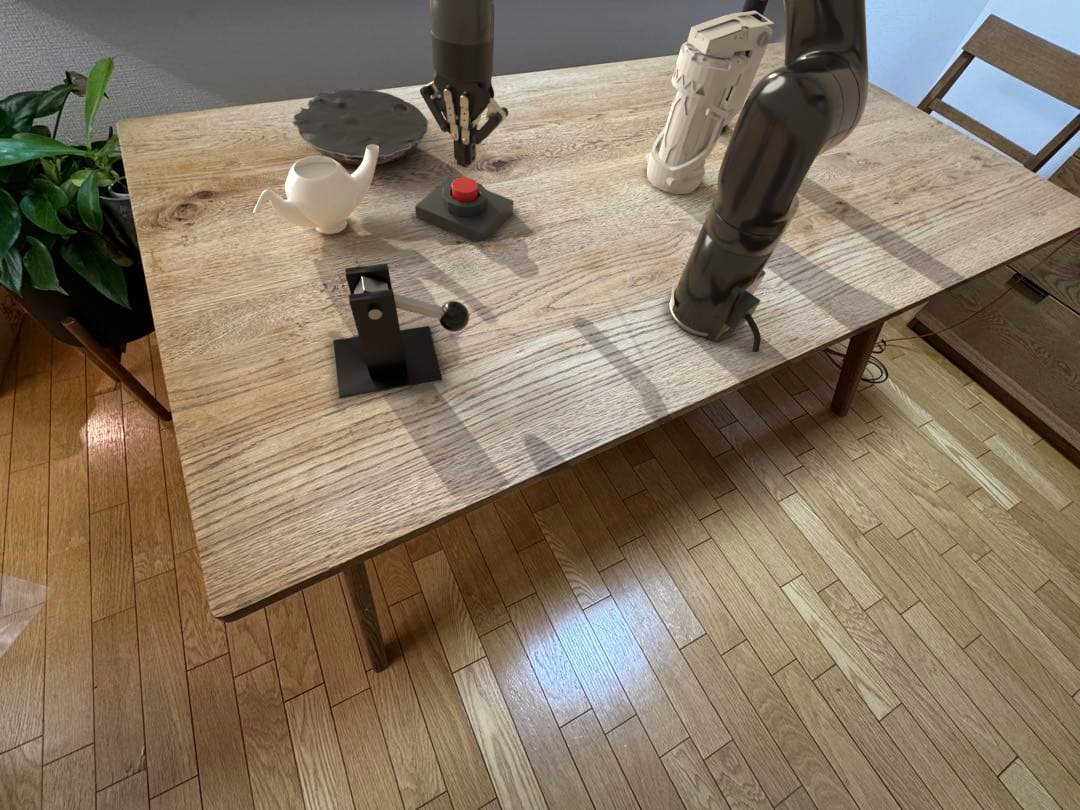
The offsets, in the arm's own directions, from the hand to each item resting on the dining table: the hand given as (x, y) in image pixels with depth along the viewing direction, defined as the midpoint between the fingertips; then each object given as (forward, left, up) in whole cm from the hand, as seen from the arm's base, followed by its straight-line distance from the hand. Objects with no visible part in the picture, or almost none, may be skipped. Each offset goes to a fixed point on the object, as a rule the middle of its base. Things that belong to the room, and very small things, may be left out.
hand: (464, 164), depth 76 cm
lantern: (-14, -39, -9) cm, 42 cm away
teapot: (+10, +18, -9) cm, 22 cm away
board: (+25, +2, -9) cm, 26 cm away
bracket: (-18, +27, -9) cm, 34 cm away
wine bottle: (-6, -61, -9) cm, 62 cm away
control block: (0, 0, -9) cm, 9 cm away
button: (0, 0, -5) cm, 5 cm away
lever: (-20, +24, -1) cm, 31 cm away
